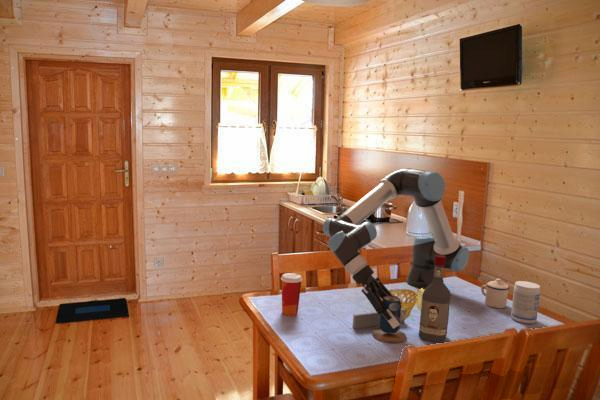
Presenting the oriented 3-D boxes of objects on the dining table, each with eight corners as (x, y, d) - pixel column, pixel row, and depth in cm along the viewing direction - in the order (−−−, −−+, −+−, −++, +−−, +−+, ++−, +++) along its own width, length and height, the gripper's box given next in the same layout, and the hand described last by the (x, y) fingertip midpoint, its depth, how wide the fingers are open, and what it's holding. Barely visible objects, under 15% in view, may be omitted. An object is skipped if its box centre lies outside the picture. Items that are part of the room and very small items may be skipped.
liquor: (421, 330, 194) (429, 251, 189) (447, 335, 190) (455, 254, 186) (417, 339, 185) (425, 257, 181) (444, 344, 182) (452, 261, 177)
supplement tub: (538, 326, 204) (543, 289, 202) (512, 322, 206) (516, 286, 204) (533, 317, 213) (538, 282, 211) (509, 313, 216) (513, 279, 213)
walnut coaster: (365, 331, 190) (366, 329, 190) (393, 327, 195) (394, 326, 195) (383, 345, 179) (384, 343, 179) (413, 340, 184) (413, 339, 184)
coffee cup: (288, 307, 209) (290, 271, 207) (304, 313, 204) (306, 276, 202) (274, 312, 203) (276, 275, 200) (290, 318, 198) (292, 280, 195)
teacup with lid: (511, 306, 224) (514, 280, 223) (498, 310, 219) (501, 283, 217) (486, 298, 234) (489, 272, 232) (474, 301, 229) (477, 275, 227)
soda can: (398, 335, 183) (401, 302, 181) (378, 332, 184) (381, 300, 182) (399, 328, 189) (401, 296, 187) (379, 325, 191) (382, 293, 189)
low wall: (352, 327, 193) (353, 314, 192) (402, 321, 202) (403, 308, 201) (354, 328, 192) (355, 315, 191) (404, 322, 200) (405, 309, 200)
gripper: (361, 269, 199) (399, 319, 195) (341, 282, 182) (383, 338, 177) (375, 258, 196) (415, 308, 192) (357, 270, 179) (400, 326, 174)
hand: (399, 322), depth 184 cm, fingers closed on soda can, 7 cm apart
